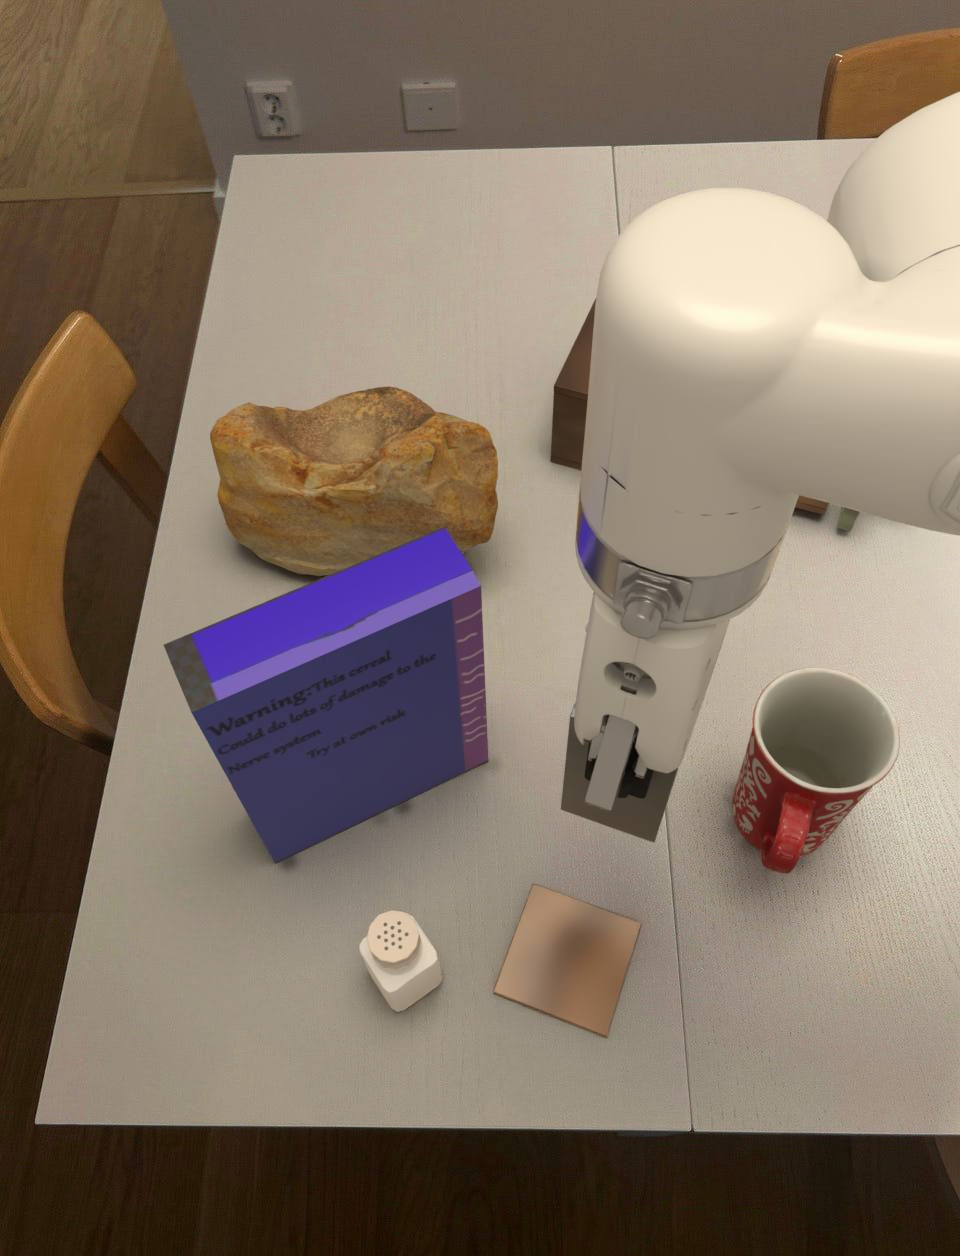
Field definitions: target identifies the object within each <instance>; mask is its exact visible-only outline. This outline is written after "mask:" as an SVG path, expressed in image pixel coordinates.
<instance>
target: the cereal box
mask: <svg viewBox="0 0 960 1256" xmlns="http://www.w3.org/2000/svg"><path fill="white" fill-rule="evenodd" d="M482 598H483V597H482V585H481V583H480V581H479V580H478V578H477V576H476V575H475V572H474V571H473V569H472V568H471V566H470V564H469V563H468V560H467V559H466V557H465V556H464V554H463V552H461V551H460V550H459V548H458V547H457V545H456V544H455V542H454V541H453V539H452V538H451V536H450V534H449V533H448V531H447V530H446V528H445V527H442V528H440V529H438V530H435V531H433V532H431V533H428V534H426V535H423V536H421V537H419V538H416V539H414V540H411V541H409V542H407V543H404V544H402V545H400V546H397V547H395V548H392V549H390V550H388V551H385V552H383V553H381V554H378V555H376V556H373V557H371V558H369V559H366V560H364V561H362V562H359V563H357V564H354V565H352V566H350V567H347V568H345V569H342V570H340V571H338V572H335V573H333V574H331V575H325V576H322V577H321V578H319V579H317V580H314V581H312V582H309V583H306V584H305V585H302V586H299V587H297V588H294V589H293V590H291V591H290V590H289V591H288V592H286V593H282V594H281V595H278V596H276V597H274V598H271V599H268V600H267V601H264V602H262V603H259V604H257V605H254V606H252V607H250V608H247V609H245V610H243V611H240V612H238V613H235V614H233V615H230V616H228V617H226V618H224V619H222V620H219V621H216V622H214V623H212V624H210V625H207V626H205V627H202V628H200V629H197V630H195V631H193V632H190V633H188V634H185V635H183V636H181V637H178V638H176V639H174V640H172V641H169V642H167V643H163V647H164V650H165V652H166V655H167V658H168V659H169V662H170V664H171V666H172V670H173V672H174V674H175V678H176V679H177V682H178V684H179V686H180V689H181V692H182V693H183V697H184V698H185V701H186V703H187V706H188V708H189V710H190V713H191V714H192V716H193V718H194V720H195V722H196V723H197V726H198V727H199V729H200V731H201V732H202V734H203V736H204V738H205V740H206V741H207V743H208V746H209V747H210V749H211V751H212V752H213V754H214V756H215V758H216V760H217V762H218V763H219V765H220V767H221V770H222V771H223V772H224V774H225V776H226V778H227V779H228V781H229V783H230V785H231V787H232V788H233V789H232V790H233V791H234V793H235V794H236V796H237V798H238V799H239V801H240V803H241V805H242V807H243V809H244V810H245V813H246V814H247V816H248V818H249V819H250V821H251V823H252V825H253V827H254V829H255V831H256V833H257V834H258V836H259V838H260V839H261V841H262V843H263V844H264V846H265V848H266V850H267V852H268V854H269V855H270V858H271V859H272V861H273V863H274V865H275V864H279V863H281V862H282V861H284V860H286V859H288V858H291V857H292V856H295V855H296V854H298V853H301V852H303V851H305V850H307V849H309V848H311V847H313V846H316V845H318V844H320V843H322V842H324V841H326V840H328V839H330V838H332V837H334V836H336V835H338V834H340V833H343V832H344V831H347V830H349V829H351V828H353V827H355V826H357V825H360V824H362V823H363V822H365V821H367V820H370V819H372V818H373V817H376V816H378V815H380V814H382V813H385V812H386V811H388V810H390V809H392V808H395V807H397V806H399V805H401V804H403V803H405V802H406V801H410V800H411V799H413V798H415V797H418V796H419V795H422V794H424V793H426V792H428V791H430V790H432V789H434V788H436V787H438V786H440V785H443V784H445V783H447V782H449V781H451V780H454V779H455V778H457V777H459V776H461V775H463V774H465V773H468V772H469V771H472V770H474V769H476V768H477V767H480V766H482V765H484V764H487V763H488V762H489V741H488V739H489V738H488V721H487V720H488V717H487V716H488V715H487V694H486V693H487V691H486V690H487V689H486V670H485V669H486V668H485V647H484V646H485V645H484V644H485V643H484V623H483V622H484V621H483V620H484V619H483V600H482Z"/></svg>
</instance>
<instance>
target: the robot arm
mask: <svg viewBox="0 0 960 1256" xmlns="http://www.w3.org/2000/svg"><path fill="white" fill-rule="evenodd" d="M595 299H596V305H595V317H594V329H593V341H592V353H591V365H590V377H589V389H588V401H587V413H586V425H585V436H584V447H583V458H582V470H580V481H579V492H578V493H579V494H578V506H577V517H576V519H577V520H576V529H575V539H574V548H575V557H576V560H577V564H578V568H579V569H580V572H581V574H582V576H583V578H584V580H585V581H586V583H587V585H588V586H589V588H591V589H590V590H592V591H593V592H592V593H593V594H592V598H591V604H590V610H589V615H588V621H587V623H586V626H585V639H584V644H583V649H582V654H581V655H582V657H581V662H580V668H579V675H578V676H579V677H578V682H577V690H576V696H575V697H576V699H575V702H576V705H575V704H574V705H575V716H574V728H575V732H576V735H577V737H578V739H579V741H580V742H581V743H582V745H584V744H585V742H586V741H588V742H590V743H589V747H588V754H587V761H586V768H585V775H584V777H585V778H586V779H587V780H589V781H590V784H589V787H588V791H587V794H586V798H585V802H584V803H586V804H589V805H592V806H595V807H597V808H600V809H603V810H606V811H609V812H611V811H612V809H613V806H614V804H615V802H616V799H617V797H618V798H626V797H627V796H628V795H631V796H634V797H637V798H641V799H643V798H645V797H646V794H647V791H648V788H649V785H650V781H651V777H652V774H653V770H655V771H659V772H663V773H670V772H672V771H674V770H675V769H677V768H678V767H679V768H680V766H681V764H682V762H683V760H684V757H685V755H686V752H687V749H688V746H689V743H690V740H691V738H692V735H693V732H694V729H695V726H696V723H697V719H698V718H699V717H698V716H699V714H700V711H701V709H702V706H703V703H704V700H705V696H706V693H707V690H708V688H709V685H710V681H711V679H712V675H713V674H714V670H715V667H716V664H717V661H718V659H719V658H718V657H719V655H720V652H721V649H722V646H723V642H724V640H725V636H726V633H727V631H728V627H729V625H730V621H731V619H733V618H734V617H737V616H739V615H740V614H742V613H743V612H744V611H745V610H747V609H749V608H750V607H751V606H752V605H753V604H754V603H755V602H756V601H757V600H758V598H759V597H760V596H761V594H762V593H763V591H764V590H765V588H766V586H767V585H768V583H769V580H770V578H771V575H772V572H773V569H774V566H775V564H776V561H777V558H778V557H779V556H778V555H779V553H780V551H781V547H782V544H783V541H784V539H785V536H786V533H787V530H788V528H789V525H790V522H791V519H792V516H793V514H794V511H795V508H796V507H795V506H796V503H797V500H798V497H799V495H800V496H804V497H808V498H812V499H816V500H820V501H823V502H827V503H829V504H830V505H833V506H834V505H835V506H839V507H841V508H842V507H845V508H849V509H852V510H856V511H860V512H859V513H863V514H867V515H871V516H875V517H878V518H881V519H885V520H889V521H892V522H896V523H899V524H904V525H908V526H912V527H916V528H918V529H924V530H928V531H931V532H936V533H941V534H947V535H953V536H959V537H960V91H957V92H955V93H952V94H951V95H949V96H948V95H947V96H945V97H943V98H942V99H939V100H937V101H935V102H933V103H930V104H928V105H926V106H924V107H922V108H920V109H918V110H916V111H915V112H912V113H911V114H910V115H908V116H907V117H905V118H903V119H902V120H900V121H899V122H896V123H895V124H893V125H892V126H890V127H889V128H887V129H886V130H885V131H884V132H883V133H882V134H880V135H879V136H878V137H877V138H876V139H875V140H873V141H872V142H871V143H870V144H868V145H867V146H866V147H865V148H864V150H862V151H861V152H860V154H859V155H858V156H857V158H856V159H855V160H854V161H853V162H852V163H851V165H850V166H849V167H848V168H847V170H846V172H845V173H844V175H843V177H842V179H841V181H840V183H839V185H838V187H837V188H836V189H835V193H834V194H833V197H832V200H831V204H830V208H829V212H828V214H827V219H825V218H824V217H823V216H821V215H819V214H818V213H816V212H815V211H813V210H811V209H809V208H808V207H806V206H805V205H802V204H800V203H798V202H796V201H794V200H792V199H789V198H787V197H784V196H781V195H778V194H775V193H772V192H768V191H763V190H759V189H753V188H744V187H710V188H702V189H696V190H692V191H688V192H684V193H681V194H677V195H674V196H672V197H669V198H667V199H664V200H661V201H659V202H657V203H655V204H653V205H652V206H649V207H647V208H646V209H645V210H644V211H643V212H641V213H639V215H637V216H636V217H634V218H633V219H632V220H631V221H630V222H629V223H628V224H627V225H626V226H625V227H624V228H623V229H622V231H621V232H620V233H619V234H618V236H617V237H616V239H615V240H614V242H613V244H612V246H611V247H610V249H609V251H608V252H607V254H606V256H605V259H604V261H603V264H602V267H601V270H600V273H599V278H598V284H597V290H596V295H595ZM633 742H635V743H636V745H634V744H633ZM679 768H678V769H679Z"/></svg>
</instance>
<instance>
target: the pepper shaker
mask: <svg viewBox="0 0 960 1256" xmlns="http://www.w3.org/2000/svg"><path fill="white" fill-rule="evenodd" d="M358 949H359V954H360V956H361V958H362V961H363V963H364V965H365V967H366V970H367V972H368V975H369V976H370V977H371V979H372V980H373V982H374V983H375V985H376V986H377V988H378V990H379V991H380V993H381V995H382V996H383V998H384V1000H385V1001H386V1003H387V1004H388V1005H389V1007H390V1009H392V1010H393V1011H395V1012H396V1013H399V1012H404V1011H405V1010H407V1009H408V1008H409V1007H411V1006H412V1005H414V1004H415V1003H417V1002H418V1001H419V1000H421V999H422V998H423V997H425V996H427V995H428V994H429V993H430V992H431V991H433V990H435V989H436V988H437V987H439V985H440V984H441V983H442V981H443V975H442V971H441V967H440V961H439V957H438V953H437V950H436V948H435V947H434V946H433V943H431V941H430V939H429V938H428V936H427V935H426V934H425V932H424V930H423V929H422V928H421V926H420V924H419V923H418V922H417V920H416V919H415V917H414V916H412V915H411V914H410V913H407V912H405V911H400V910H394V909H390V910H387V911H385V912H382V913H379V914H378V915H377V916H376V917H375V918H374V919H373V920H372V921H371V923H370V924H369V926H368V931H367V935H366V936H365V937H363V938H362V940H361V941H360V943H359V944H358Z"/></svg>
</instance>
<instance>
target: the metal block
mask: <svg viewBox="0 0 960 1256" xmlns="http://www.w3.org/2000/svg"><path fill="white" fill-rule="evenodd" d="M575 705H576V701H575V702H574V704H573V707H572V710H571V712H570V715H569V722H568V731H567V732H568V734H567V741H566V742H567V745H566V752H565V761H564V770H563V771H564V774H563V781H562V783H563V784H562V792H561V802H560V810H561V811H562V812H563V811H564V812H566V813H568V814H572V815H575V816H578V817H580V818H583V819H585V820H589V821H591V822H594V823H597V824H600V825H602V826H606V827H608V828H611V829H614V830H617V831H620V832H622V833H626V834H628V835H631V836H634V837H637V838H639V839H643V840H645V841H647V842H651V843H655V842H656V839H657V835H658V833H659V830H660V828H661V827H660V826H661V824H662V821H663V818H664V815H665V811H666V808H667V805H668V802H669V799H670V796H671V793H672V790H673V787H674V784H675V780H676V777H677V774H678V772H679V768H680V766H679V767H678V768H677V769H675V770H674V771H672V772H670V773H663V772H659V771H655V770H653V774H652V777H651V781H650V785H649V788H648V791H647V794H646V797H645V798H643V799H641V798H637V797H634V796H631V795H628V796H627V797H626V798H618V797H617V799H616V802H615V804H614V806H613V809H612V811H611V812H609V811H606V810H603V809H600V808H597V807H595V806H592V805H589V804H586V803H584V802H585V798H586V794H587V791H588V787H589V784H590V781H589V780H587V779H586V778H585V777H584V775H585V768H586V761H587V754H588V747H589V743H590V742H588V741H586V742H585V744H584V745H582V743H581V742H580V741H579V739H578V737H577V735H576V732H575V728H574V716H575ZM633 744H634V745H636V743H635V742H633Z"/></svg>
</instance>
